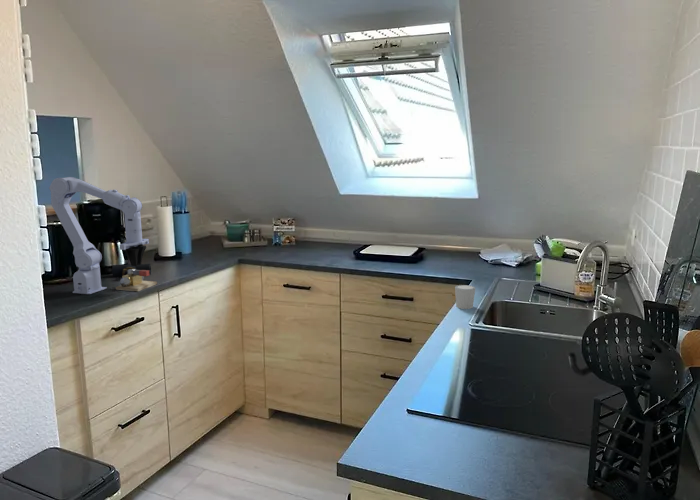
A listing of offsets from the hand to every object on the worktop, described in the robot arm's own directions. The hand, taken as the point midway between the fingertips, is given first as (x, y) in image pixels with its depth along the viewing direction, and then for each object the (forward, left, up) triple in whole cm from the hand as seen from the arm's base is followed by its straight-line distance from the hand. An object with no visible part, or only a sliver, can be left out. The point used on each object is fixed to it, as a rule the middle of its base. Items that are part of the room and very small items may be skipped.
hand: (136, 265), depth 208 cm
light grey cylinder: (+12, -123, -10) cm, 124 cm away
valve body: (+5, +6, -10) cm, 12 cm away
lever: (+4, +3, -5) cm, 7 cm away
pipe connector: (+18, +18, -10) cm, 27 cm away
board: (+5, +4, -10) cm, 12 cm away
